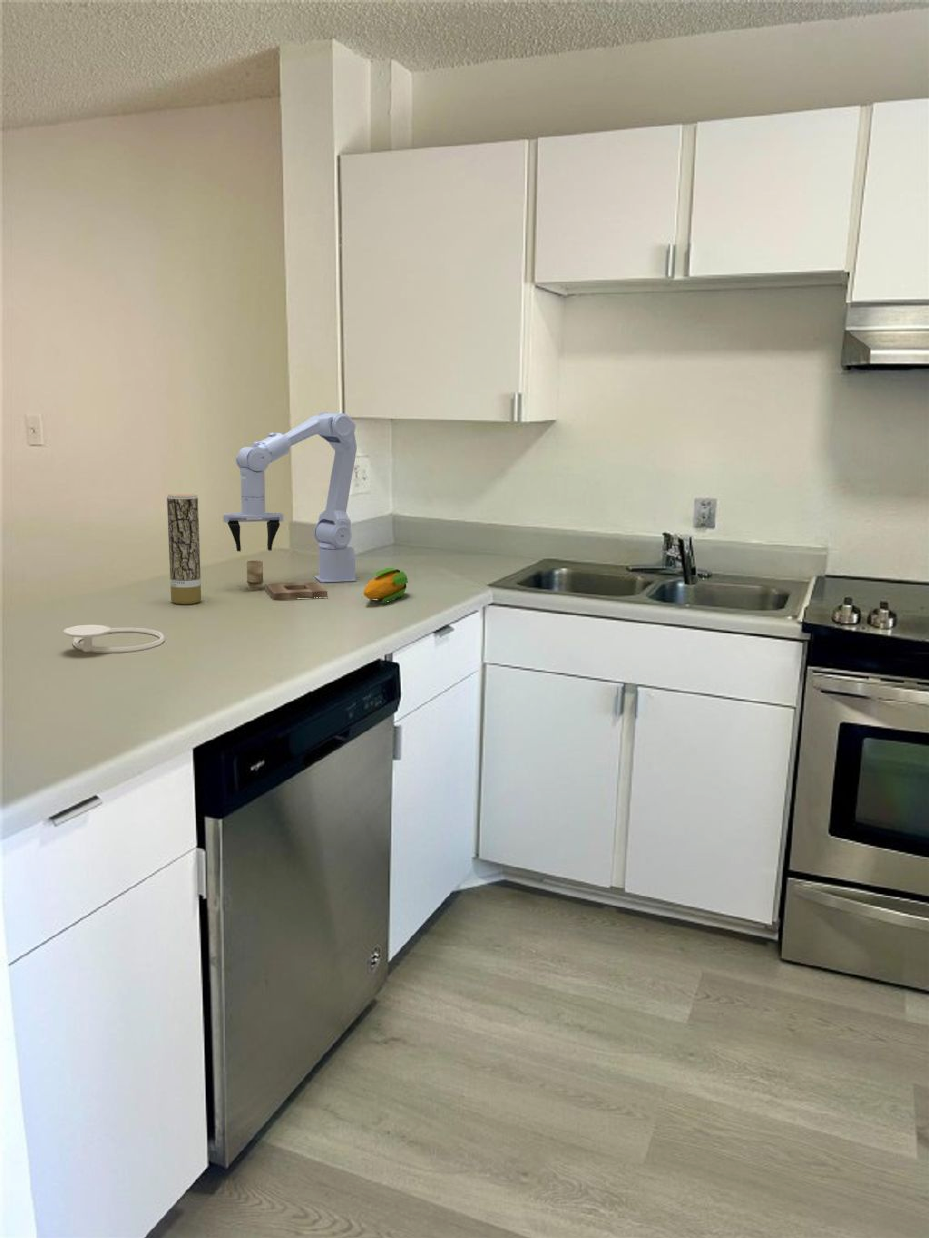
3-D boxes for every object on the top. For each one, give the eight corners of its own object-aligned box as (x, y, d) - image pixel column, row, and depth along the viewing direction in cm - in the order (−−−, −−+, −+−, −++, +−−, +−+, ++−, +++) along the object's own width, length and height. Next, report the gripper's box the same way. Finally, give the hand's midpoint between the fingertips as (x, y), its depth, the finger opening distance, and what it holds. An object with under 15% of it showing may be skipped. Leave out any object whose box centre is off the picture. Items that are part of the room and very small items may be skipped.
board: (316, 588, 235) (316, 581, 235) (327, 598, 224) (327, 591, 224) (265, 591, 230) (265, 583, 230) (274, 600, 220) (274, 593, 219)
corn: (413, 564, 231) (381, 577, 213) (415, 594, 233) (382, 609, 214) (386, 564, 233) (352, 576, 215) (388, 593, 235) (354, 608, 217)
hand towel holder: (183, 618, 182) (105, 640, 164) (183, 640, 183) (106, 664, 165) (117, 608, 189) (35, 628, 170) (118, 629, 190) (37, 651, 171)
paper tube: (192, 606, 211) (188, 497, 205) (165, 604, 212) (161, 495, 207) (206, 600, 218) (203, 494, 212) (180, 598, 219) (176, 493, 213)
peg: (262, 587, 235) (261, 560, 233) (264, 590, 231) (264, 563, 230) (245, 587, 233) (245, 560, 232) (248, 591, 230) (247, 563, 228)
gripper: (279, 494, 233) (280, 547, 236) (221, 494, 228) (222, 548, 231) (284, 497, 227) (285, 551, 230) (224, 497, 222) (226, 553, 225)
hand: (254, 550), depth 230 cm, fingers open, 7 cm apart
